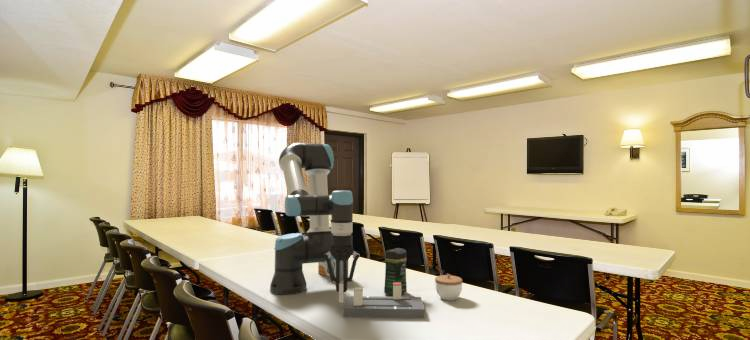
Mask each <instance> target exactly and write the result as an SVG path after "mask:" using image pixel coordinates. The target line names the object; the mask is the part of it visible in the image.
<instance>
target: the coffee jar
mask: <svg viewBox="0 0 750 340" xmlns="http://www.w3.org/2000/svg"><path fill="white" fill-rule="evenodd" d="M407 256H408V255H407V250H406V249H405V248H402V247H401V248H400V247H396V248H393V249H387V250H386V251H385V253H384V261H385V272H384V273H385V274H384V276H385V277H384V287H383V288H384V289H383V291H384V292H383V293H384V294H386V295H387V296H388V297H393V282H401V296H402V295H405V294H406V293H407V287H408V285H407V258H408V257H407Z"/></svg>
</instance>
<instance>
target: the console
mask: <svg viewBox="0 0 750 340" xmlns="http://www.w3.org/2000/svg"><path fill="white" fill-rule="evenodd" d="M425 310H426V309H425V306H424V303H423V300H422V297H421V296H401V299H393V296H373V295H372V296H370V295H366V296H365V295H364V296H363V304H362V306H355V305H354V295H349V296H348V295H346V298H345V300H344V304H343V308H342V317H343V318H370V319H371V318H373V319H374V318H379V319H380V318H386V319H425Z"/></svg>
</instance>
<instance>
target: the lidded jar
mask: <svg viewBox="0 0 750 340" xmlns="http://www.w3.org/2000/svg"><path fill="white" fill-rule="evenodd" d="M434 281H435V282H434V284H435V289H436V293H437V295H438V296H439V297H440V299H441V300H444V301H448V302H449V301H455V300H457V298H459V297H460V295H461V292H462V289H463V279H462V277H460V276H456V275H451V274H450V273H447V274H445V275H443V274H441V275H437V276H435V278H434Z"/></svg>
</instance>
